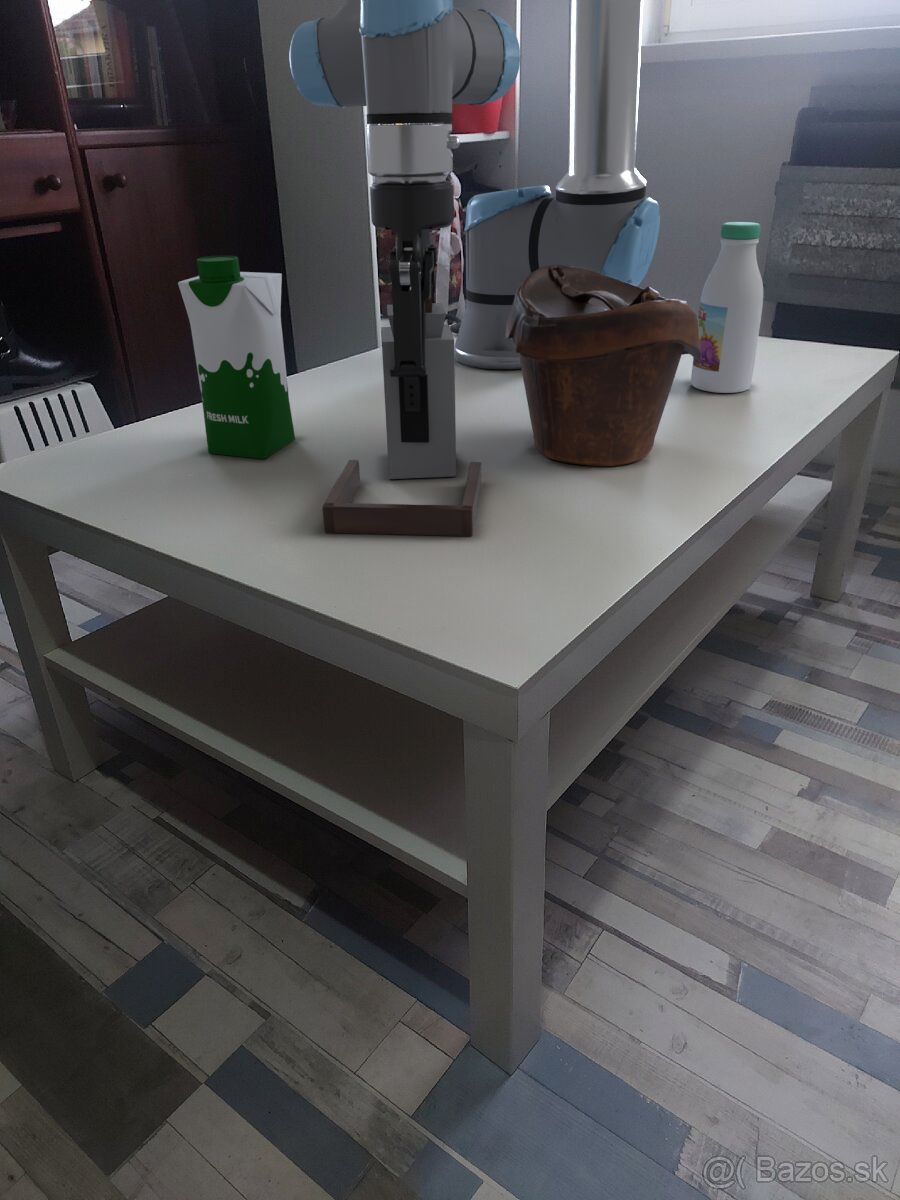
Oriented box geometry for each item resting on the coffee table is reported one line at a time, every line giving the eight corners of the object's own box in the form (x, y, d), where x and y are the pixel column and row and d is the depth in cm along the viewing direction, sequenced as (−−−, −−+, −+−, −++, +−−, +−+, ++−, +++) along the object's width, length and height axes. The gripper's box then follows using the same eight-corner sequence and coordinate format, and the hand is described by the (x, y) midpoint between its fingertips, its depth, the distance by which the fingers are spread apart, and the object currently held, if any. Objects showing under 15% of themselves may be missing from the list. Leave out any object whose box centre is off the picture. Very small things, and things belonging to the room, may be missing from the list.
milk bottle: (744, 379, 120) (767, 219, 111) (756, 394, 114) (781, 226, 104) (686, 378, 121) (704, 220, 112) (694, 394, 114) (714, 226, 105)
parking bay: (350, 483, 88) (348, 459, 87) (481, 486, 87) (481, 461, 86) (324, 533, 78) (322, 506, 77) (472, 536, 77) (472, 509, 76)
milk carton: (196, 455, 97) (165, 260, 87) (240, 430, 104) (215, 248, 94) (267, 463, 94) (243, 263, 84) (307, 437, 101) (289, 250, 92)
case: (677, 487, 86) (699, 294, 77) (481, 465, 92) (482, 284, 84) (699, 432, 101) (719, 265, 92) (528, 417, 107) (533, 258, 98)
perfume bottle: (387, 456, 95) (378, 279, 86) (450, 454, 95) (447, 277, 87) (389, 479, 89) (379, 291, 80) (456, 476, 89) (453, 289, 81)
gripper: (442, 185, 71) (447, 463, 82) (462, 172, 87) (464, 404, 98) (349, 186, 71) (366, 461, 82) (386, 173, 88) (397, 403, 99)
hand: (419, 430), depth 90 cm, fingers closed on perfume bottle, 6 cm apart
